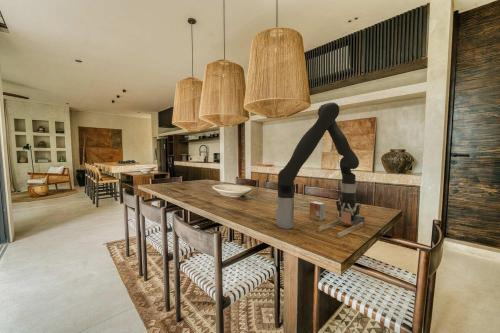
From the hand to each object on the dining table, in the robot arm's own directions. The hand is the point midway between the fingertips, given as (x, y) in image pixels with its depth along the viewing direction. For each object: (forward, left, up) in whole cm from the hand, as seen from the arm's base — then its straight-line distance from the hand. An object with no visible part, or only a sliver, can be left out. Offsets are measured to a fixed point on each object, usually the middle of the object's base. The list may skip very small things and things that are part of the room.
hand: (347, 220), depth 122 cm
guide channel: (0, -7, -3) cm, 7 cm away
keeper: (0, 0, -1) cm, 1 cm away
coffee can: (-8, +15, -4) cm, 18 cm away
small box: (-19, -2, -4) cm, 20 cm away
